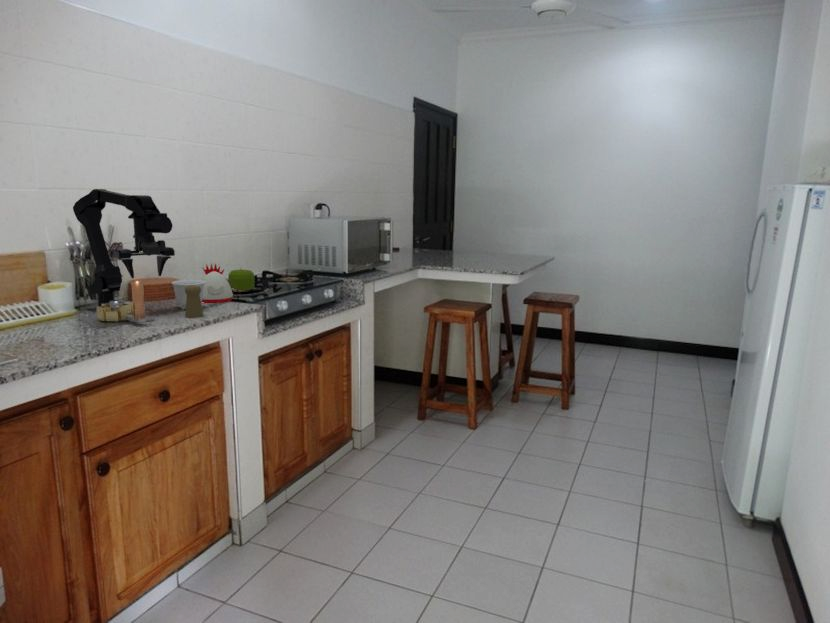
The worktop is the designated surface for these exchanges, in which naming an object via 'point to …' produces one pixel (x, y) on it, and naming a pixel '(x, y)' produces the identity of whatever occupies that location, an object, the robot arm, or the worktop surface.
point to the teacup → (180, 290)
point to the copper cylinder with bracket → (126, 307)
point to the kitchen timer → (216, 286)
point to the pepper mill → (193, 301)
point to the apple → (241, 279)
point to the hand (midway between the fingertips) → (146, 277)
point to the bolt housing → (100, 324)
